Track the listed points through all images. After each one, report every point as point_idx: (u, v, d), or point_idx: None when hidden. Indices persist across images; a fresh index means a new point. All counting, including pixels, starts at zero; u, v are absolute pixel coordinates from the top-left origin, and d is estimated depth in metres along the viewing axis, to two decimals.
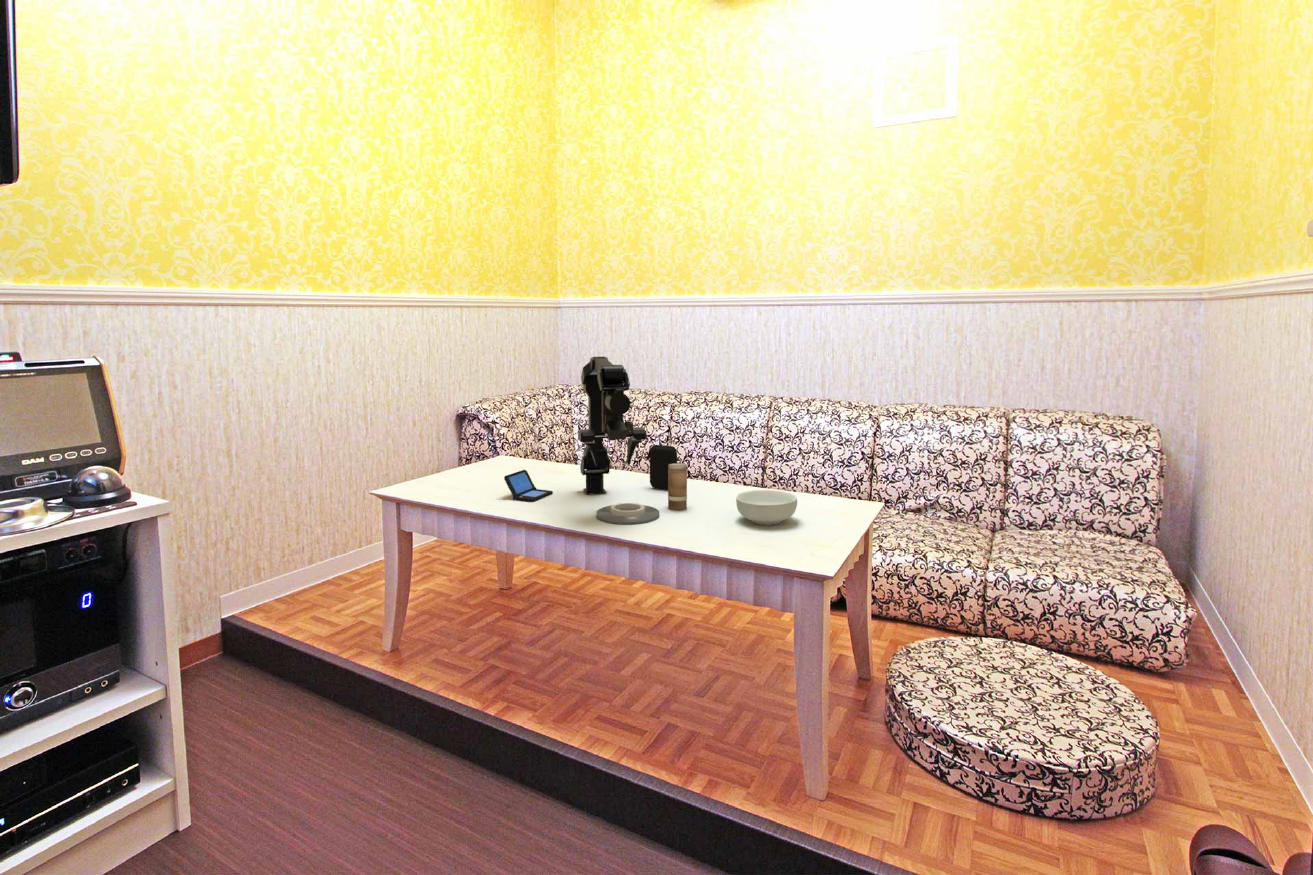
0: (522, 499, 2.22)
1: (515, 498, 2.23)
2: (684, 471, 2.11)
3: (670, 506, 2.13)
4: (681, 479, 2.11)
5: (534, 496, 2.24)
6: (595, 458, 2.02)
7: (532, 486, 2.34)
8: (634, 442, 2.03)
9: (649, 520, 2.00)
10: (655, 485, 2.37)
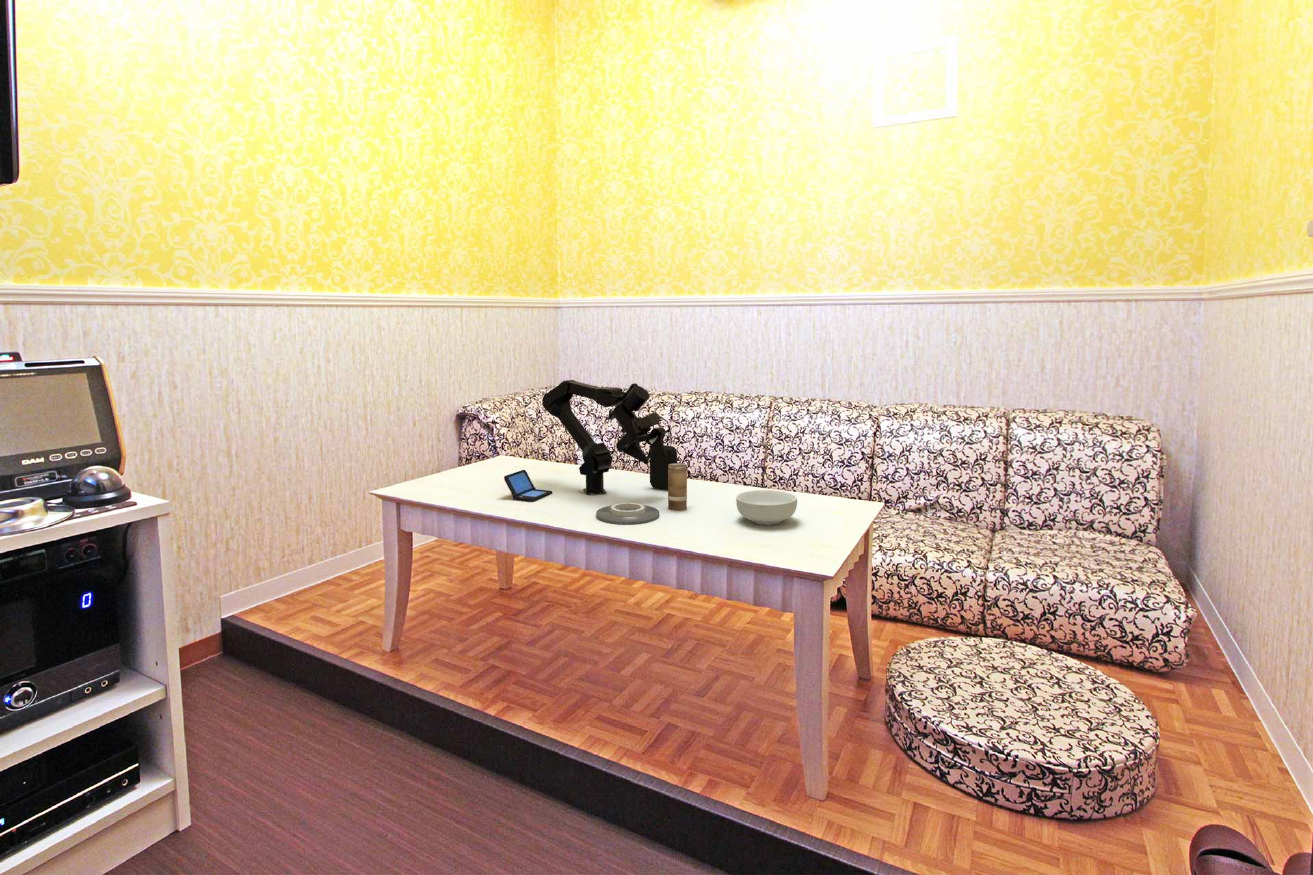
0: (522, 499, 2.22)
1: (515, 498, 2.23)
2: (684, 471, 2.11)
3: (670, 506, 2.13)
4: (681, 479, 2.11)
5: (534, 496, 2.25)
6: (644, 455, 2.13)
7: (531, 486, 2.34)
8: (661, 435, 2.22)
9: (649, 520, 2.00)
10: (655, 485, 2.37)
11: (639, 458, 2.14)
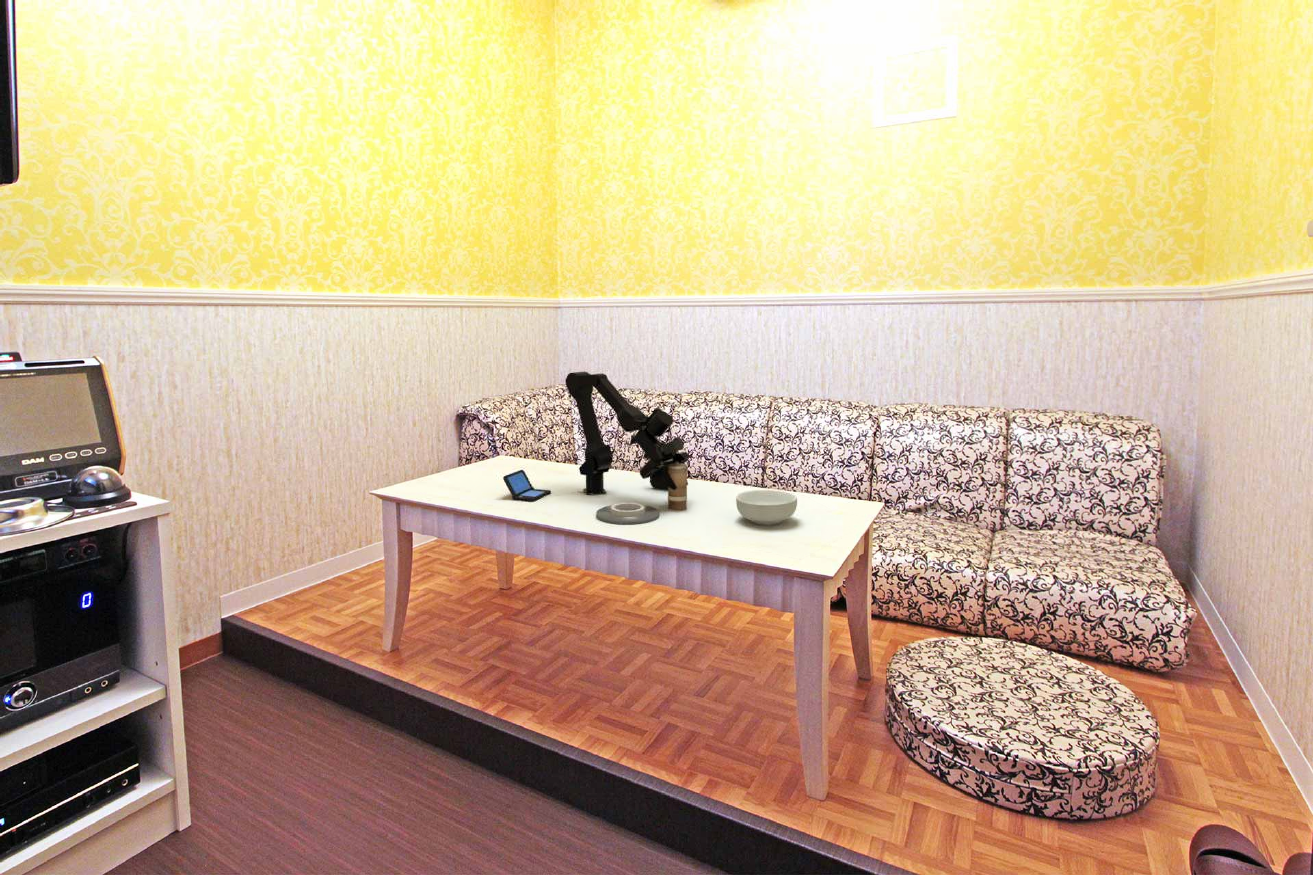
0: (522, 499, 2.22)
1: (515, 498, 2.23)
2: (684, 471, 2.11)
3: (670, 506, 2.13)
4: (681, 479, 2.11)
5: (533, 496, 2.25)
6: (672, 481, 2.10)
7: (530, 486, 2.34)
8: (681, 461, 2.16)
9: (649, 520, 2.00)
10: (655, 485, 2.37)
11: (667, 484, 2.11)
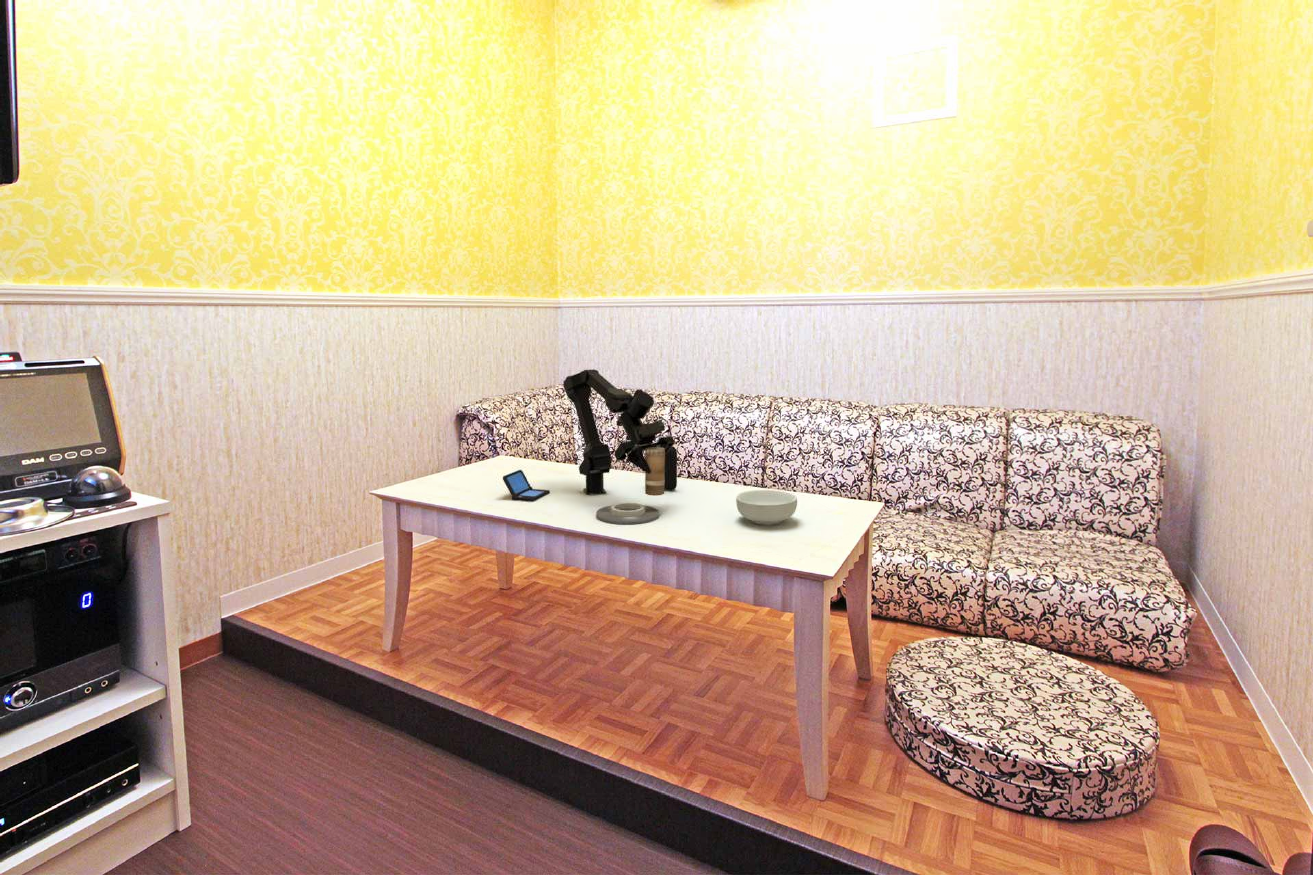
0: (522, 499, 2.23)
1: (514, 498, 2.23)
2: (660, 455, 2.05)
3: (646, 490, 2.08)
4: (656, 463, 2.05)
5: (533, 496, 2.25)
6: (646, 464, 2.05)
7: (528, 486, 2.34)
8: (662, 445, 2.10)
9: (649, 520, 2.00)
10: None
11: (641, 467, 2.06)
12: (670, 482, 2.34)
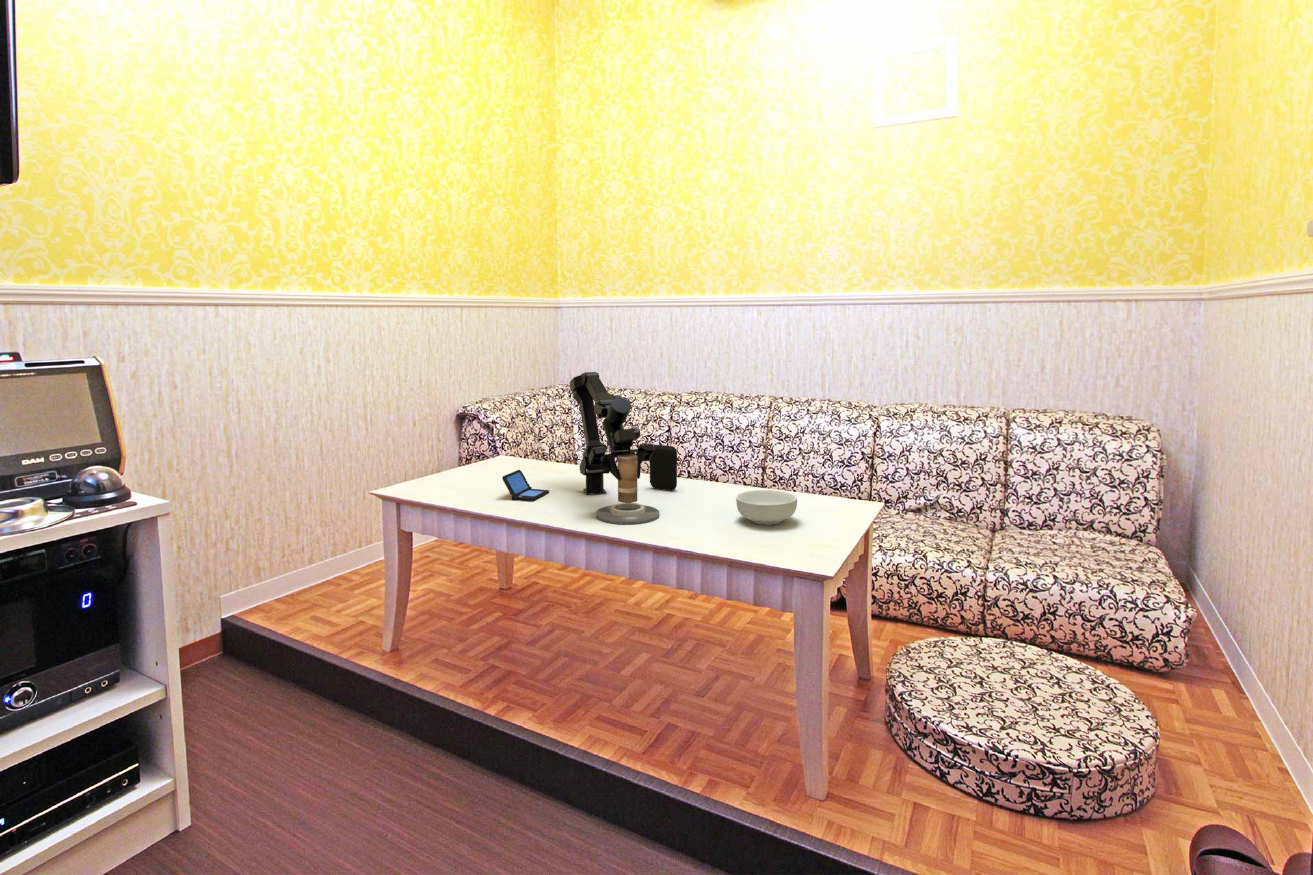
0: (522, 499, 2.23)
1: (514, 498, 2.23)
2: (630, 462, 2.01)
3: (618, 497, 2.05)
4: (626, 470, 2.02)
5: (533, 495, 2.25)
6: (616, 471, 2.03)
7: (527, 486, 2.34)
8: (639, 452, 2.07)
9: (649, 520, 2.00)
10: (655, 485, 2.37)
11: (613, 473, 2.04)
12: (670, 482, 2.34)
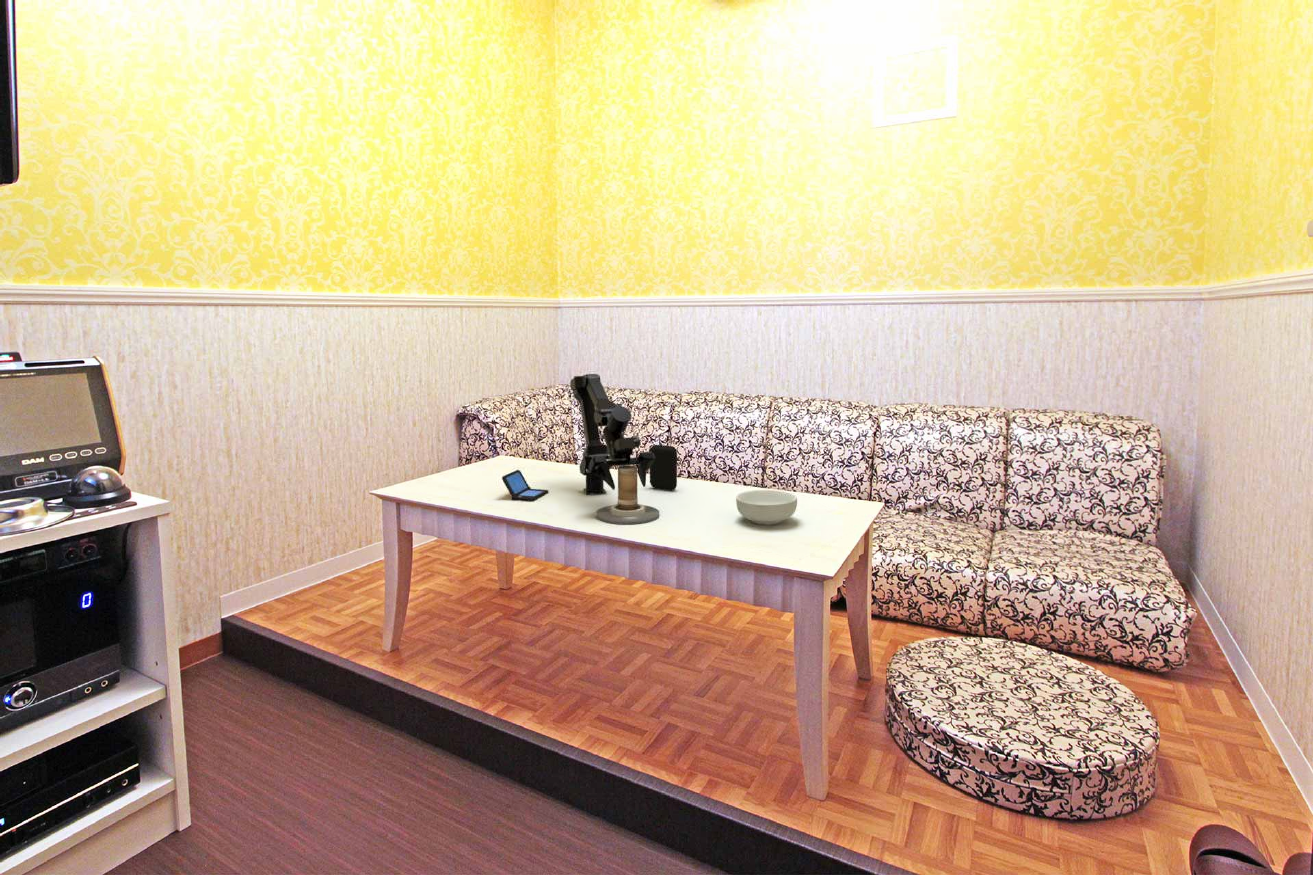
0: (521, 499, 2.23)
1: (514, 498, 2.23)
2: (630, 474, 2.02)
3: (618, 509, 2.06)
4: (626, 482, 2.02)
5: (533, 495, 2.25)
6: (611, 480, 2.02)
7: (527, 486, 2.34)
8: (644, 461, 2.08)
9: (649, 520, 2.00)
10: (655, 485, 2.37)
11: (607, 482, 2.04)
12: (670, 482, 2.34)
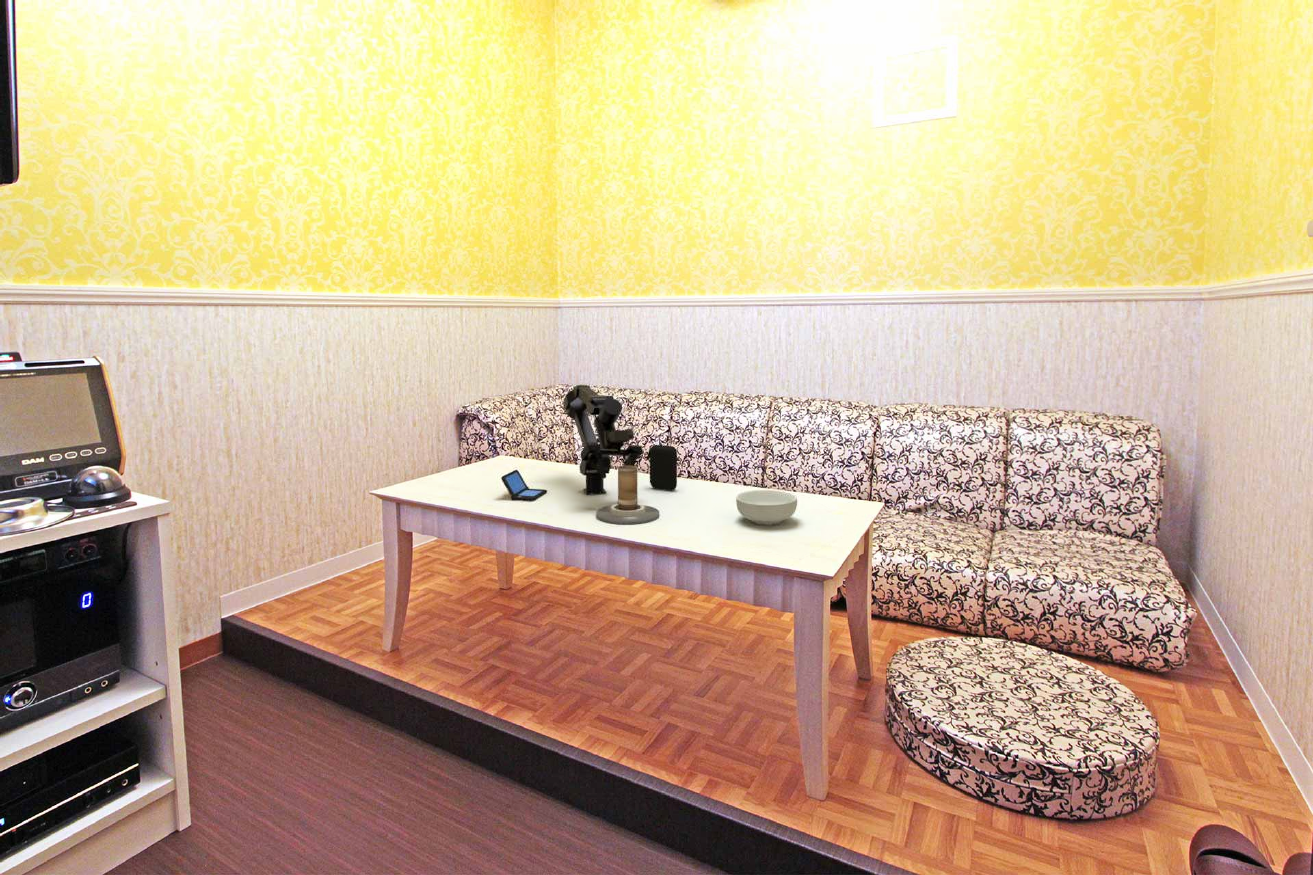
0: (521, 499, 2.23)
1: (514, 498, 2.23)
2: (630, 474, 2.02)
3: (618, 509, 2.06)
4: (626, 482, 2.02)
5: (532, 495, 2.25)
6: (603, 469, 2.10)
7: (525, 486, 2.34)
8: (634, 454, 2.17)
9: (649, 520, 2.00)
10: (655, 485, 2.37)
11: (598, 470, 2.11)
12: (670, 482, 2.34)
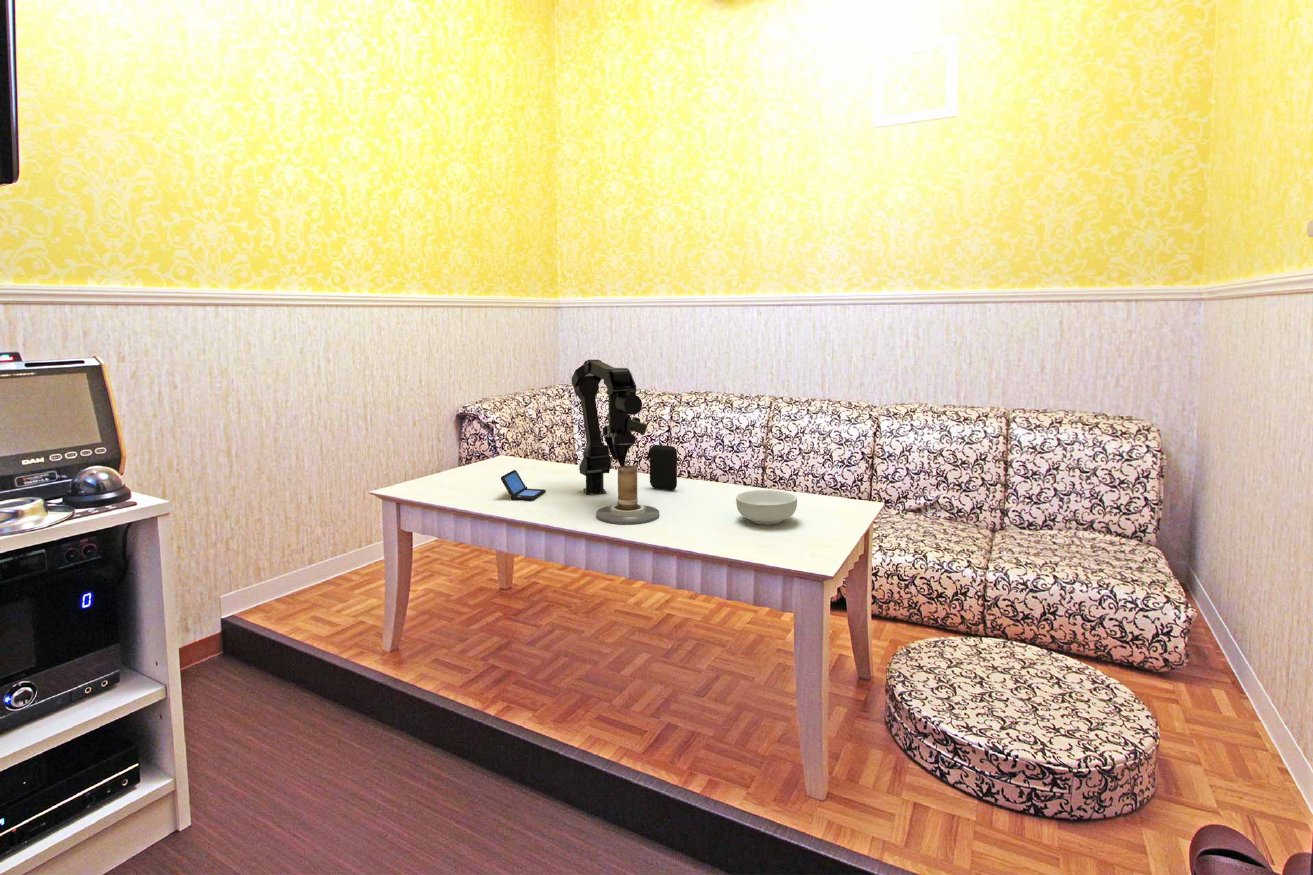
0: (521, 499, 2.23)
1: (513, 498, 2.23)
2: (630, 474, 2.02)
3: (618, 509, 2.06)
4: (626, 482, 2.02)
5: (532, 495, 2.26)
6: None
7: (523, 486, 2.34)
8: None
9: (649, 520, 2.00)
10: (655, 485, 2.37)
11: (620, 457, 2.10)
12: (670, 482, 2.34)
